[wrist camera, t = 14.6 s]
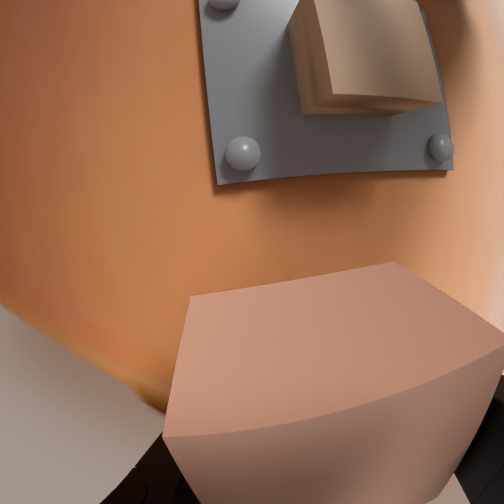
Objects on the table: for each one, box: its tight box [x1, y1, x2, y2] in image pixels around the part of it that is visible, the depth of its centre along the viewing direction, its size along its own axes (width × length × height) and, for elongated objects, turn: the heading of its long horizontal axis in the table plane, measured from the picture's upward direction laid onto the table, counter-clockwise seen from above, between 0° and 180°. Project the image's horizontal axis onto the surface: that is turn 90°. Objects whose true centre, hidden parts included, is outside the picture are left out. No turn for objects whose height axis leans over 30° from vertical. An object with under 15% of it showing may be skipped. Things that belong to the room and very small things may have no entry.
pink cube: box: [162, 261, 504, 504], centre depth 7 cm, size 6×6×5 cm
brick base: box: [287, 0, 443, 115], centre depth 13 cm, size 6×6×5 cm
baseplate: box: [199, 0, 453, 185], centre depth 15 cm, size 16×13×1 cm
